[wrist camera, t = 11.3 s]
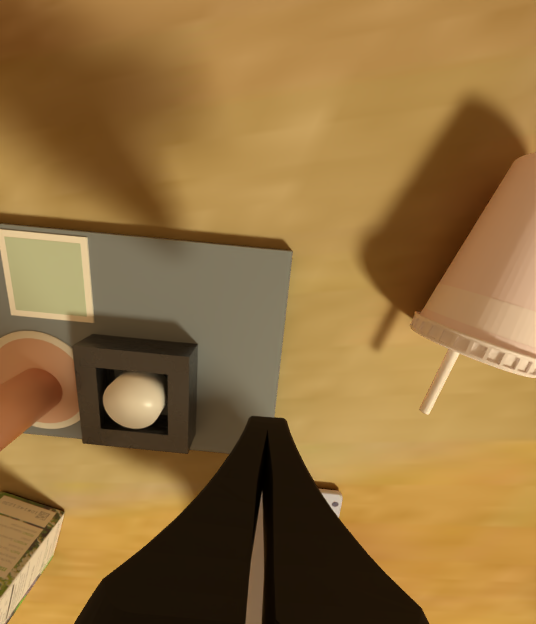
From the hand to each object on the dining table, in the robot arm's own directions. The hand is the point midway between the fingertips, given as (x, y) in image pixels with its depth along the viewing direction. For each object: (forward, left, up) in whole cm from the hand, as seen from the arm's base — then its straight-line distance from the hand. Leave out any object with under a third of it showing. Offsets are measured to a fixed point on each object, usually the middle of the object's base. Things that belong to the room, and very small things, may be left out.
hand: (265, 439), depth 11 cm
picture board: (-1, +10, -9) cm, 13 cm away
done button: (-4, +8, -8) cm, 12 cm away
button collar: (-4, +8, -9) cm, 13 cm away
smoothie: (+12, -13, -7) cm, 19 cm away
